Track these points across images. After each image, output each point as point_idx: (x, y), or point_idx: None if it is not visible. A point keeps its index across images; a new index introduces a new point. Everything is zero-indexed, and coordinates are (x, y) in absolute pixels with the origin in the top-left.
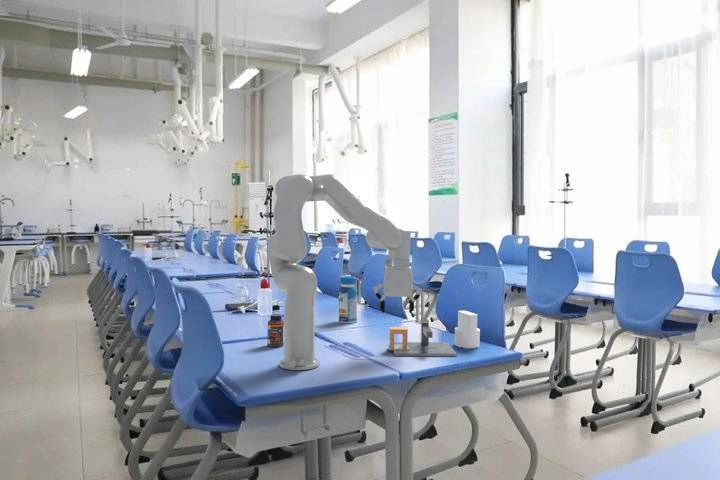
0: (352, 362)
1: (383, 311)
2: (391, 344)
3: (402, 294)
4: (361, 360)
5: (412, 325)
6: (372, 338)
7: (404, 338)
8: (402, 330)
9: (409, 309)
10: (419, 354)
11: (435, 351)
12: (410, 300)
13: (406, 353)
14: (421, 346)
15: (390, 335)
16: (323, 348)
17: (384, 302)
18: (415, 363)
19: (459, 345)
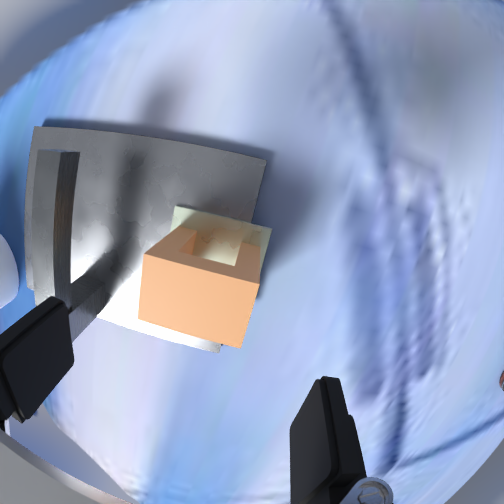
0: (450, 132)
1: (330, 380)
2: (253, 250)
3: (2, 472)
4: (418, 144)
5: (120, 473)
6: (259, 428)
7: (179, 241)
8: (177, 260)
9: (58, 358)
10: (152, 138)
11: (81, 162)
12: (4, 405)
13: (209, 147)
14: (110, 256)
15: (258, 269)
16: (458, 339)
17: (336, 461)
18: (214, 39)
19: (7, 251)
